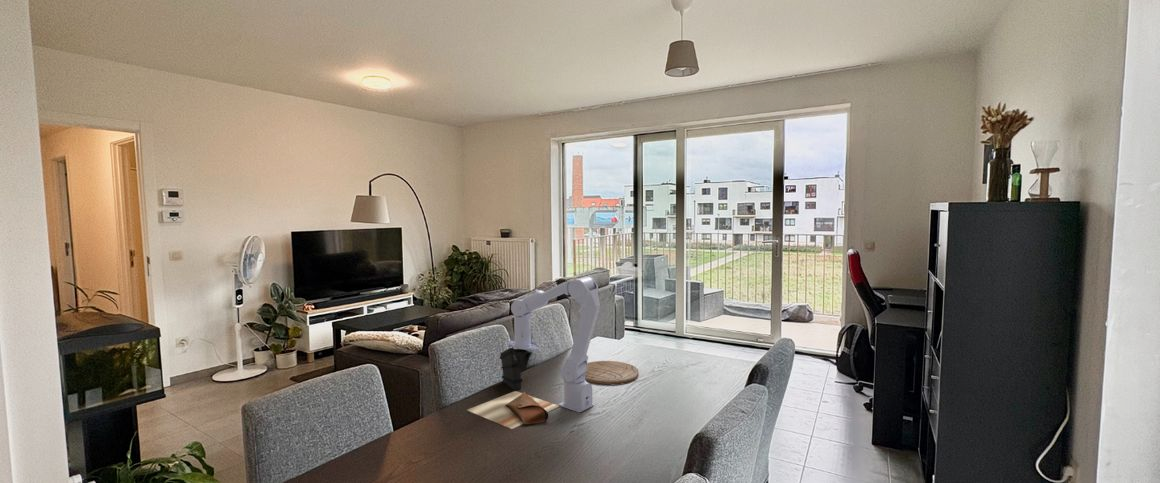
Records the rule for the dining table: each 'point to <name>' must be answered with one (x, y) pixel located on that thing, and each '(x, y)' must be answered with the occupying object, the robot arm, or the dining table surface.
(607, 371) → the trivet
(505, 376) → the black angular block
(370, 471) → the dining table surface
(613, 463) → the dining table surface
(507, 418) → the beige flat square sheet
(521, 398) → the sunglasses case
